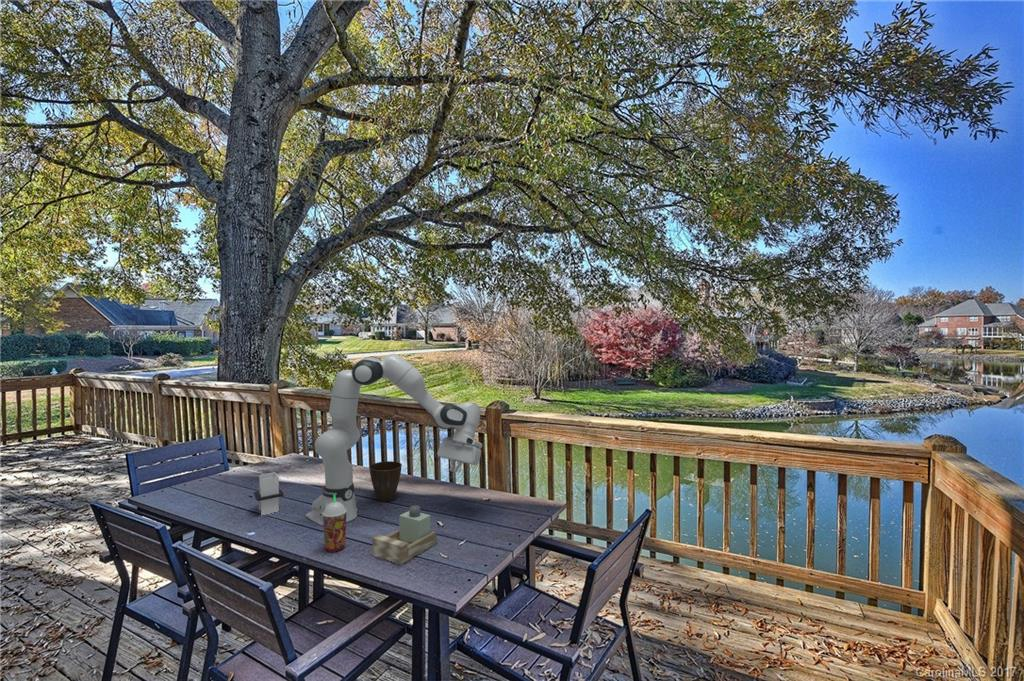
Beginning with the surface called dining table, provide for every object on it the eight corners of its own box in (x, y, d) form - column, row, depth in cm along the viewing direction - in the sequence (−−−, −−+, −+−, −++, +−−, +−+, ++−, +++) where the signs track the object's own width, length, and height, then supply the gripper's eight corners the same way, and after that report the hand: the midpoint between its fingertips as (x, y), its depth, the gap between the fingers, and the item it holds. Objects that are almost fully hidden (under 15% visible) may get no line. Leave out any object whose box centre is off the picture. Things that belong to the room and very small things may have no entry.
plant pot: (406, 493, 229) (406, 461, 229) (395, 505, 215) (395, 470, 214) (376, 493, 231) (376, 460, 230) (364, 504, 216) (364, 470, 216)
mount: (372, 555, 167) (372, 537, 167) (409, 535, 183) (409, 518, 183) (401, 565, 160) (401, 546, 160) (437, 543, 176) (437, 526, 176)
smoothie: (319, 548, 172) (318, 494, 172) (341, 541, 178) (340, 489, 178) (328, 556, 167) (328, 500, 166) (351, 548, 172) (350, 494, 172)
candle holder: (232, 510, 210) (232, 474, 210) (291, 498, 225) (290, 464, 225) (241, 528, 191) (241, 489, 190) (305, 514, 206) (304, 477, 205)
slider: (399, 539, 176) (399, 507, 175) (410, 533, 181) (410, 502, 181) (419, 545, 171) (419, 512, 170) (430, 538, 176) (430, 507, 176)
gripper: (440, 434, 205) (430, 465, 200) (478, 441, 194) (468, 474, 189) (448, 437, 210) (438, 468, 205) (485, 445, 199) (476, 478, 194)
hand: (453, 471), depth 197 cm, fingers closed
